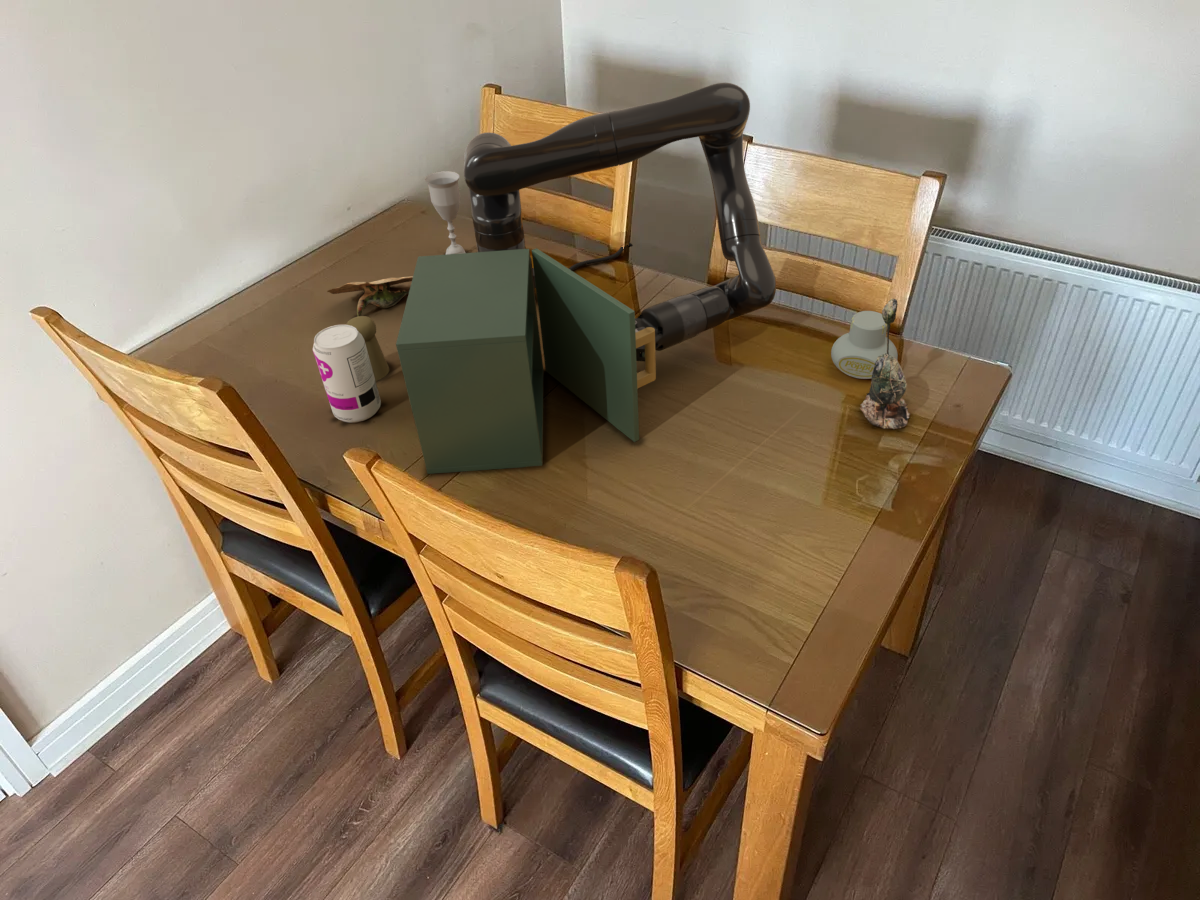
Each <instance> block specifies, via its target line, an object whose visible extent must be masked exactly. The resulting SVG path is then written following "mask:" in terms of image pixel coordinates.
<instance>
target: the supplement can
mask: <svg viewBox="0 0 1200 900" xmlns="http://www.w3.org/2000/svg"><path fill="white" fill-rule="evenodd" d="M312 353H313V356H314V359H315V362H316V364H317V368H318V372H319V374H320V378H321V380H322V384H323V388H324V391H325V394H326V397H327V400H328V402H329V405H330V408H331V412H332V414H333V416H334V418H336V419H338V420H340V421H341V422H344V423H360V422H364V421H366V420H368V419H370V418H372V417H373V416H374V415H375V414H376V413H377V412H378V411H379V409H380V408H381V405H382V402H381V401H382V400H381V397H380V393H379V389H378V385H377V381H375V378H374V374H373V370H372V367H371V363H370V359H369V355H368V352H367V348H366V344H365V341H364V338H363V336H362V335H361V334H360V333H359V332H358V331H357V329H356V328H355V327H353V326H350V325H346V324H335V325H331V326H328V327H325V328H323V329H322V330H320V331H318V332H317V333H316V334H315V335H314V338H313V345H312Z"/></svg>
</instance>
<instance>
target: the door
mask: <svg viewBox="0 0 1200 900" xmlns="http://www.w3.org/2000/svg"><path fill="white" fill-rule="evenodd" d="M531 259H532V268H534V275H535V284H536V288H535V294H536V300H537V308H538V316H539V317H538V318H539V326H540V334H541V343H542V344H541V345H542V351H543V360H544V369H545V370H544V371H545V373H547V374H548V375H550V376H551V377H552V378H554V379H555V380H556V381H557V382H559V383H560V384H561V385H563V387H564V388H566V389H567V390H569V391H570V392H571V393H572V394H573V395H575V396H576V397H577V398H579V399H580V400H581V401H582V402H583V403H585V404H586V405H588V407H590V408H591V410H594V411H595V412H596V413H597V414H598V415H600V417H602V418H604V420H606V421H607V422H608V423H610V424H611V425H612V426H613V427H615V428H616V429H617V430H618V431H620V432H621V433H622V434H623V435H625V436H626V437H627V438H628V439H630V440H631V441H632V442H634V443H637V442H638V441H639V440H640V421H639V395H638V392H639V391H638V389H639V388H641V387H644V386H646V385H648V384H651V383H652V382H654V381H656V379H657V367H656V366H657V365H656V363H657V362H656V350H655V329H654V328H652V327H647V328H645V329H643V330H641V331H638V332H636V333H635V318H636V313H635V312H636V311H635V310H634V309H632V308H630V307H629V306H627V305H626V304H624V303H623V302H621V301H619V300H618V299H617V298H615V297H613V296H612V295H611V294H609V293H607V292H605V291H604V290H602V289H601V288H600V287H598V286H596V285H594V284H593V283H591V282H590V281H588V280H587V279H585V278H584V277H582V276H581V275H579V274H577V273H576V272H575V271H574V270H573V271H571V270H570V269H569V268H568V267H567V266H566V265H563V264H562V263H561V262H559V261H557V260H556V259H555V258H553V257H551V256H549V255H548V254H547V253H544V251H542V250H540V249H538V248H537V247H536V248H533V249H531ZM643 345H645V361H644V367H645V369H642V370H641V371H639V372H638V365H637V361H636V348H638V347H640V346H643Z"/></svg>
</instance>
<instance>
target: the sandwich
mask: <svg viewBox="0 0 1200 900" xmlns="http://www.w3.org/2000/svg"><path fill="white" fill-rule="evenodd" d="M412 279H413V275H411V276H402V277H388V278H382V279H378V280H375V281H370V282H369V281H368V282H367V281H351V282H348V283H345V284H343V285H341V286H338V287H334V288H331V289H329V290H327V291H326V292H327V293H330V294H332V295H336V294H344V293H345V294H346V293H353V292H362V291H363V293H364V294H363V295H361V297H360V298H359V299H358V302H357V306H356V315H357V316H356V317H358V316H362V314H363V311H364V309H366V308H367V306H368V305H369V304H371V305H374V306H376V307H378V308H382V309H388V308H391V307H394V306H396V304H397V303H399V302H400V301H401V300H402V299H403V298H404V297H405V296H407V295H409V291H410V289H409V290H408V291H407V290H406V289H402V291H401V290H396V291H392V290H391V286H395V285H399V284H404V283H409V282H410V283H411V282H412ZM381 290H382V291H381Z"/></svg>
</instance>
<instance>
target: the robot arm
mask: <svg viewBox="0 0 1200 900" xmlns="http://www.w3.org/2000/svg"><path fill="white" fill-rule="evenodd" d="M750 112H751V99H750V97H749V95H748V93H747V92H746V91H745V90H744V89H743V88H742V87H741V86H739V85H738V84H735V83H732V82H717V83H716V82H715V83H712V84H709V85H706V86H704V87H701V88H698V89H695V90H692V91H689V92H686V93H683V94H681V95H678V96H674V97H672V98H668V99H664V100H659V101H654V102H649V103H644V104H639V105H634V106H630V107H625V108H621V109H615V110H610V111H606V112H600V113H597V114H592V115H589V116H585V117H581V118H580V119H577V120H574V121H572V122H570V123H568V124H566V125H564V126H562V127H561V128H559V129H557V130H555V131H553V132H552V133H550V134H548V135H546V136H544V137H542V138H540V139H536V140H533V141H530V142H525V143H520V144H514V145H513V144H512V145H511V143H510V142H509V140H507V138H505V137H504V136H503V135H500V134H498V133H495V132H482V133H479V134H477V135H475V136H474V137H473V138H471V139H470V140H469V142H468V143H467V145H466V147H465V150H464V155H463V178H464V182H465V184H466V186H467V187H468V192H469V198H470V199H469V201H470V211H471V219H472V225H473V231H474V238H475V244H476V251H477V252H489V251H503V250H517V249H527V246H526V238H525V231H524V222H523V214H522V203H521V202H522V201H521V195H520V190H523V189H525V188H528V187H531V186H534V185H538V184H541V183H544V182H547V181H552V180H557V179H563V178H567V177H572V176H577V175H581V174H585V173H591V172H596V171H601V170H606V169H610V168H614V167H619V166H624V165H626V164H630V163H632V162H634V161H637V160H638V159H641V158H644V157H645V156H647V155H649V154H651V153H653V152H655V151H657V150H659V149H661V148H663V147H664V146H667V145H669V144H672V143H675V142H678V141H679V142H680V141H683V140H688V139H693V138H698V139H699V142H700V144H701V147H702V148H701V149H702V150H703V153H704V157H705V159H706V163H707V167H708V171H709V175H710V179H711V185H712V190H713V198H714V205H715V214H716V220H717V228H718V234H719V242H720V246H721V252H722V255H723V257H724V259H726V261H729V262H734V263H735V266H736V268H737V271H738V274H737V275H734V276H733V277H731V278H728V279H726V280H723V281H721V282H719V283H717V284H715V285H711V286H707V287H703V288H699V289H697V290H695V291H691V292H690V293H686V294H683V295H679V296H674V297H672V298H670V299H667V300H664V301H662V302H659V303H657V304H654V305H651V306H648V307H646V308H644V309H643V310H642V311H641V312H640V314H639V315H638V316H637V317H635V333H636V332H638V331H641V330H643V329H645V328H647V327H652V328H654V329H655V352H661V351H663V350H666V349H668V348H671V347H673V346H676V345H678V344H681V343H683V342H686V341H688V340H691V339H693V338H694V337H696V336H698V335H699V334H701V333H704V332H707V331H709V330H711V329H714V328H716V327H719V326H720V325H722V324H724V323H725V322H726V321H730V320H733V319H736V318H738V317H742V316H744V315H747V314H750V313H753V312H756V311H759V310H761V309H763V308H765V307H768V306H769V305H770V304H771V303H772V302H773V301H774V299H775V296H776V292H777V281H776V276H775V273H774V270H773V268H772V265H771V262H770V260H769V258H768V255H767V254H766V252H765V249H764V247H763V245H762V239H761V231H760V226H759V220H758V219H759V218H758V214H757V213H758V212H757V209H756V204H755V200H754V198H753V195H752V192H751V189H750V185H749V183H748V178H747V175H746V170H745V163H744V131H745V129H746V125H747V124H748V120H749V116H750ZM628 242H629V246H628V245H627V246H626V247H628V248H629V247H631V248H632V247H633V246H634V245H633V244H632V242H630V241H628ZM626 247H624V249H623V247H621V246H620V247H619V249H618V250H617V251H616V252H614V253H613V254H611V255H608V256H603V257H599V258H592V259H587V260H583V261H580V262H577V263H575V264H573V265H571V266H570V267H569V268H568V269H570V270H571V271H573V272H574V270H576V269H578V268H580V267H584V266H588V265H593V264H599V263H604V262H608V261H611V260H614V259H616V258H618V257H619V256H620V255H621V254H622V253H623V252H624V250H625V249H626ZM530 259H531V268H532V276H533V285H534V293H535V301H536V300H537V293H536V284H535V275H534V267H533V259H532V256H530ZM636 362H645V345H643V346H640V347H638V348H636Z"/></svg>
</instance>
